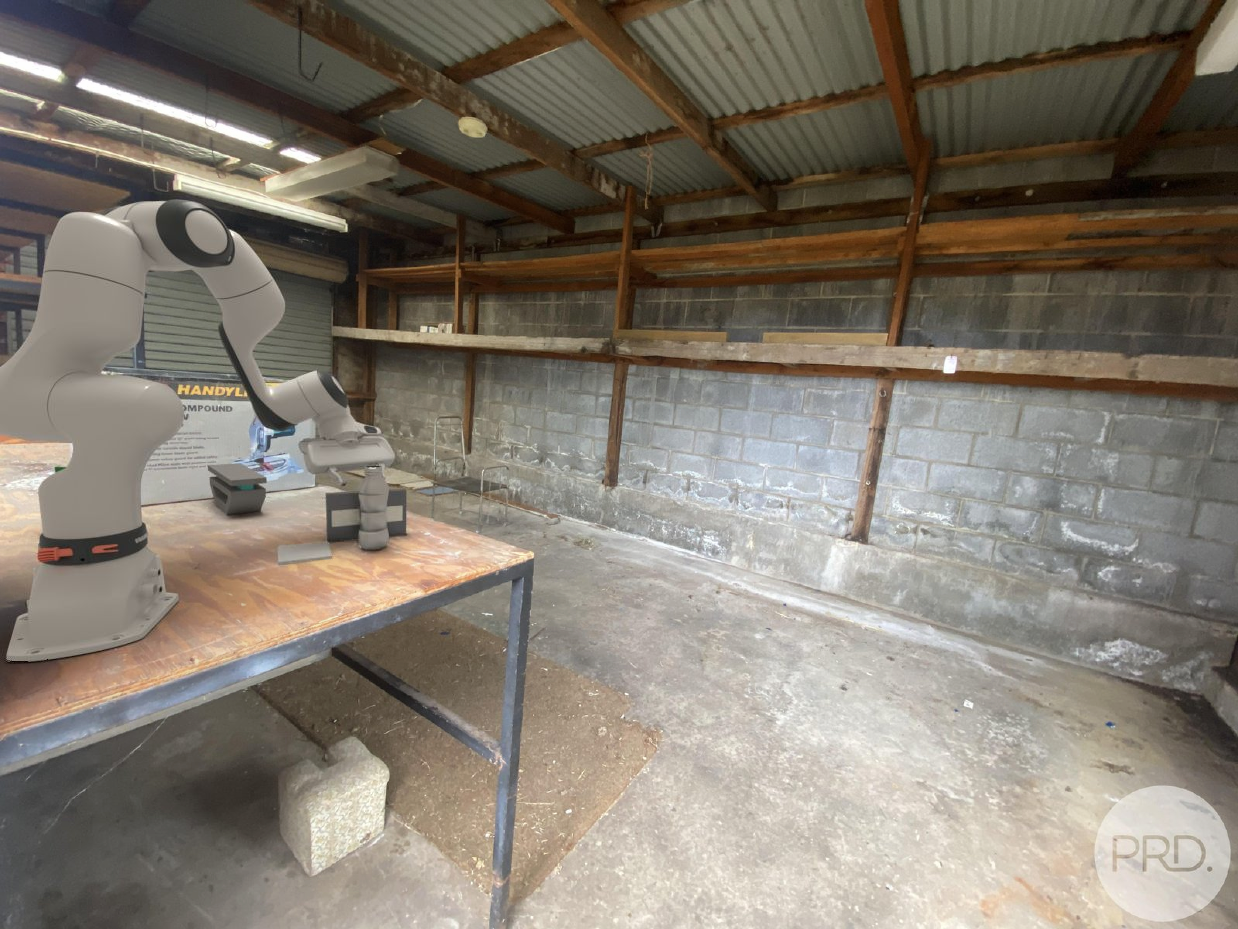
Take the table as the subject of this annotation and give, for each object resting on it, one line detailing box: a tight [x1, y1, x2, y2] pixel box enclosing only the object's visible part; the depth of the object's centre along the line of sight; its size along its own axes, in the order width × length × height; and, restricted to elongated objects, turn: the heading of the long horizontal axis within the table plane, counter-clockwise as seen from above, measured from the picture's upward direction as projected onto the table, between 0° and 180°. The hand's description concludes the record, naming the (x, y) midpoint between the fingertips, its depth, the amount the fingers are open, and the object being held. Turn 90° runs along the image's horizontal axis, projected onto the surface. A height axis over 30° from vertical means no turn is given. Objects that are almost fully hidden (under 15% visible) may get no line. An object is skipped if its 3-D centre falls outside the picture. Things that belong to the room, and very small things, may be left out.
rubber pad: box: [277, 540, 333, 566], centre depth 113 cm, size 11×10×1 cm
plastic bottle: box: [357, 465, 390, 551], centre depth 118 cm, size 6×7×20 cm
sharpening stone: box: [207, 462, 268, 516], centre depth 143 cm, size 25×8×11 cm, turn 50°
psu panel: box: [325, 488, 407, 544], centre depth 126 cm, size 2×18×12 cm, turn 125°
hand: (363, 482), depth 120 cm, fingers open, 8 cm apart
